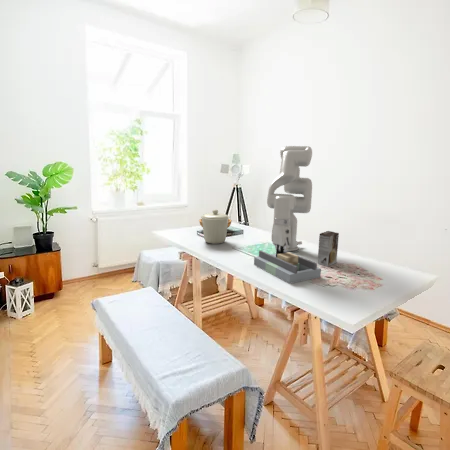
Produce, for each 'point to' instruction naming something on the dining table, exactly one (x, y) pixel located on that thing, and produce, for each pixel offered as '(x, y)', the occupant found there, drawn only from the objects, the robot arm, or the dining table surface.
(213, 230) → the canister
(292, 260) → the maple block
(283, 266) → the lane deck
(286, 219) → the robot arm
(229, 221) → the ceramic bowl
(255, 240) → the dining table surface
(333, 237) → the coffee box
